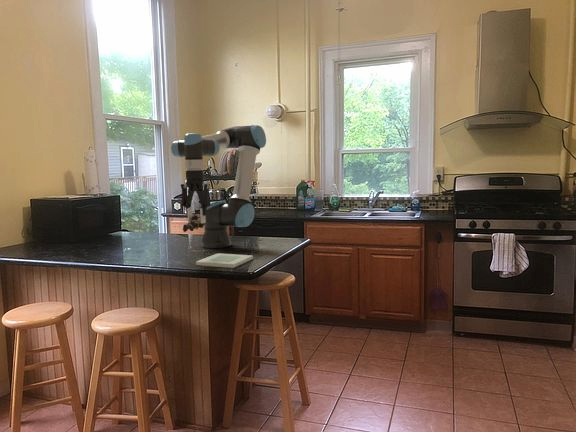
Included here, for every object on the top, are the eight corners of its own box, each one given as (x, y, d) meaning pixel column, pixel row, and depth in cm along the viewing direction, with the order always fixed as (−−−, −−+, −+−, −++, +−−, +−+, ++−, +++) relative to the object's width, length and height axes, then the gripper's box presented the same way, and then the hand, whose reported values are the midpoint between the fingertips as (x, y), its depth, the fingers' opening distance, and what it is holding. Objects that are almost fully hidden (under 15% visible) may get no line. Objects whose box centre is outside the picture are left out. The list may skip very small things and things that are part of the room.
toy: (181, 218, 191) (198, 211, 205) (179, 233, 193) (196, 224, 207) (194, 222, 190) (210, 214, 204) (192, 237, 192) (208, 228, 205)
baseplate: (217, 256, 209) (217, 253, 209) (253, 258, 202) (252, 255, 202) (196, 265, 192) (195, 261, 192) (233, 267, 186) (233, 264, 186)
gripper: (171, 170, 197) (173, 223, 200) (208, 169, 189) (210, 224, 192) (181, 169, 204) (184, 221, 206) (217, 169, 196) (219, 222, 199)
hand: (196, 222), depth 199 cm, fingers closed on toy, 6 cm apart
